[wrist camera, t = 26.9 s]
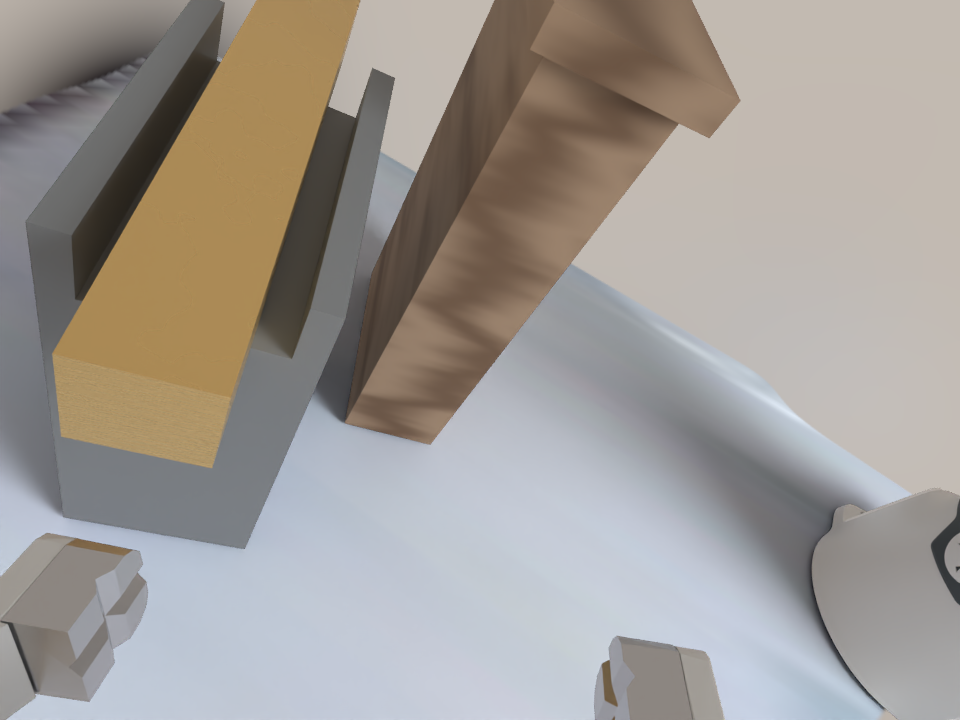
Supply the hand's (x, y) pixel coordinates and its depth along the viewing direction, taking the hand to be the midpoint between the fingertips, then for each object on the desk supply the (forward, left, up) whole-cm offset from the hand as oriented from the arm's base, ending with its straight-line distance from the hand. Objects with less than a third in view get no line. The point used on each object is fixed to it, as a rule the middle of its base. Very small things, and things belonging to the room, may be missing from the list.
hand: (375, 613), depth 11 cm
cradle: (+5, -16, -21) cm, 27 cm away
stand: (-5, -24, -21) cm, 32 cm away
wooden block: (+5, -16, -5) cm, 17 cm away
